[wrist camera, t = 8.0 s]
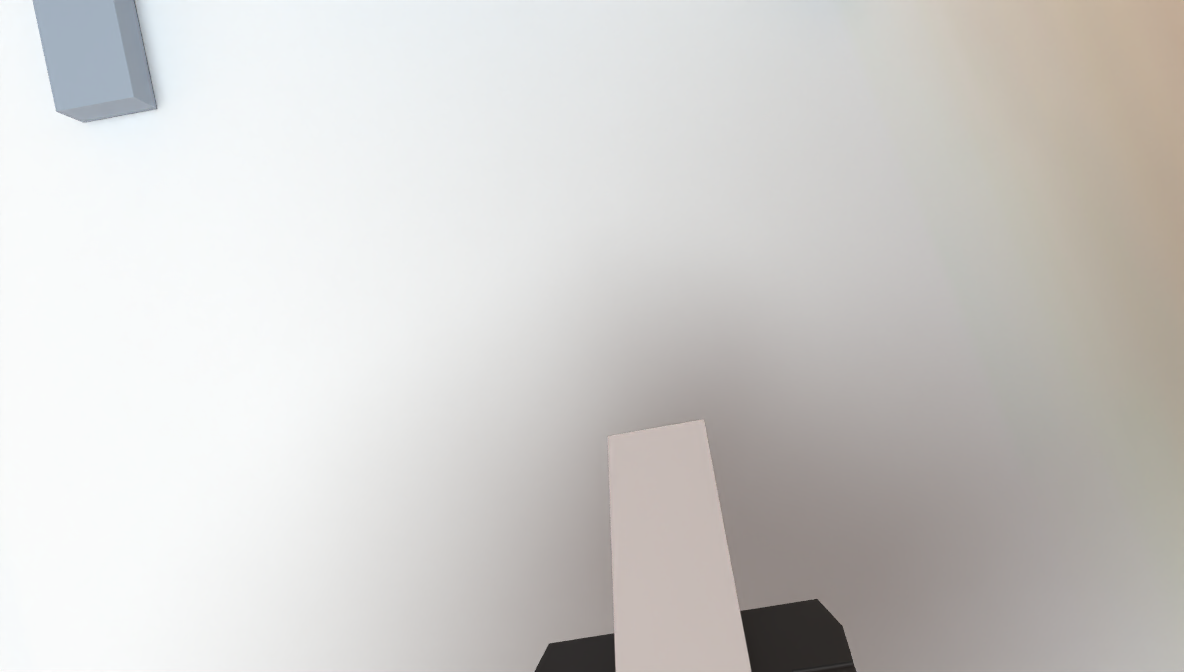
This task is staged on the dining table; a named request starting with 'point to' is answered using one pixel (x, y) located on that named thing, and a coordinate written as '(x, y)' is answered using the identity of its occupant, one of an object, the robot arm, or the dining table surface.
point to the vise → (94, 57)
